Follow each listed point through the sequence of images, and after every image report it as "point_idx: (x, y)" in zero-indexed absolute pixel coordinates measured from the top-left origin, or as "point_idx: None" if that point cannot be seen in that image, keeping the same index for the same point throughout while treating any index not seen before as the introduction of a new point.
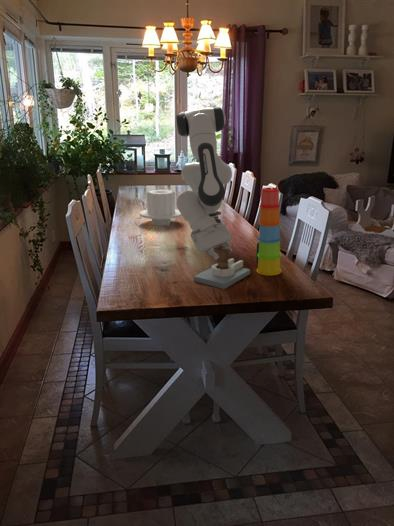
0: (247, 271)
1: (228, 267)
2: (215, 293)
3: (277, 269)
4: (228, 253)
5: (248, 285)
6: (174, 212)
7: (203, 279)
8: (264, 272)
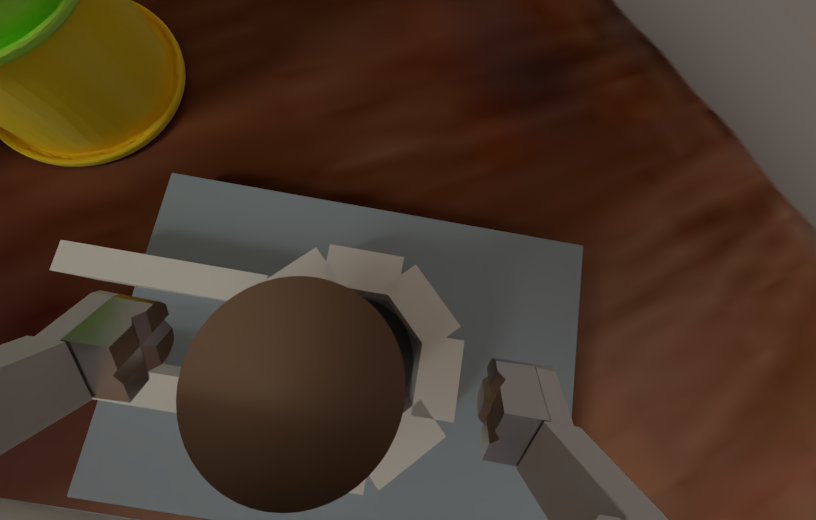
0: (221, 183)
1: None
2: (661, 278)
3: None
4: (171, 344)
5: (422, 134)
6: None
7: None
8: (162, 81)
